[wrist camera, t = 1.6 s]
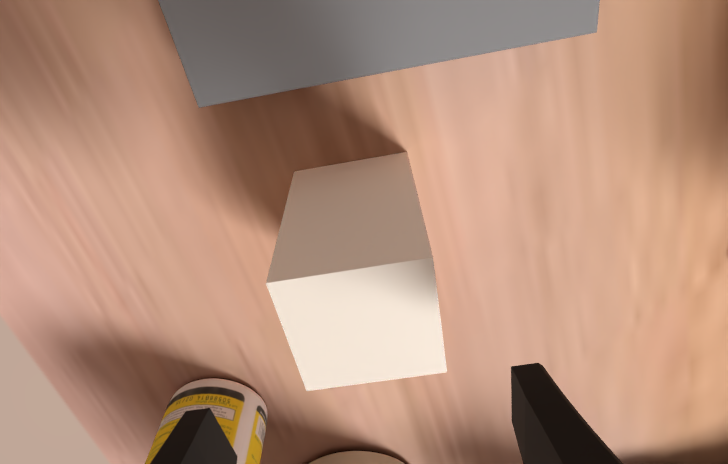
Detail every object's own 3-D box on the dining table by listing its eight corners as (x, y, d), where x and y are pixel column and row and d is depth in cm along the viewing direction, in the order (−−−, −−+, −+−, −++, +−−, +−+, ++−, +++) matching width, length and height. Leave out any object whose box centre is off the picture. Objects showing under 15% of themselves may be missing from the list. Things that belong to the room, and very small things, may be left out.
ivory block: (407, 151, 18) (432, 257, 12) (420, 245, 20) (446, 372, 15) (294, 171, 18) (266, 283, 12) (320, 261, 21) (306, 391, 15)
